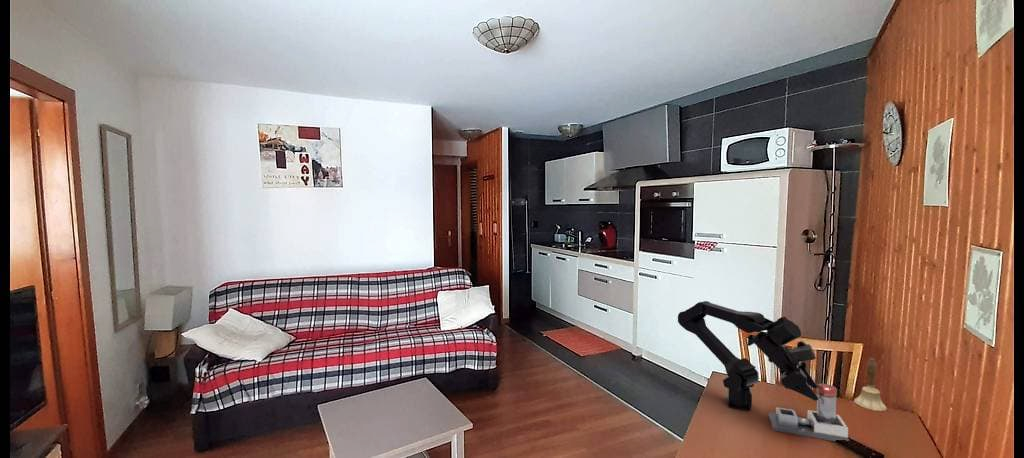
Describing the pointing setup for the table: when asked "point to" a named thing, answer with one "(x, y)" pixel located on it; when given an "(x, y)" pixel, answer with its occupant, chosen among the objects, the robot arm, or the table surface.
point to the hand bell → (870, 391)
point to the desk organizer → (808, 425)
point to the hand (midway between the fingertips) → (816, 393)
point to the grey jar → (826, 403)
